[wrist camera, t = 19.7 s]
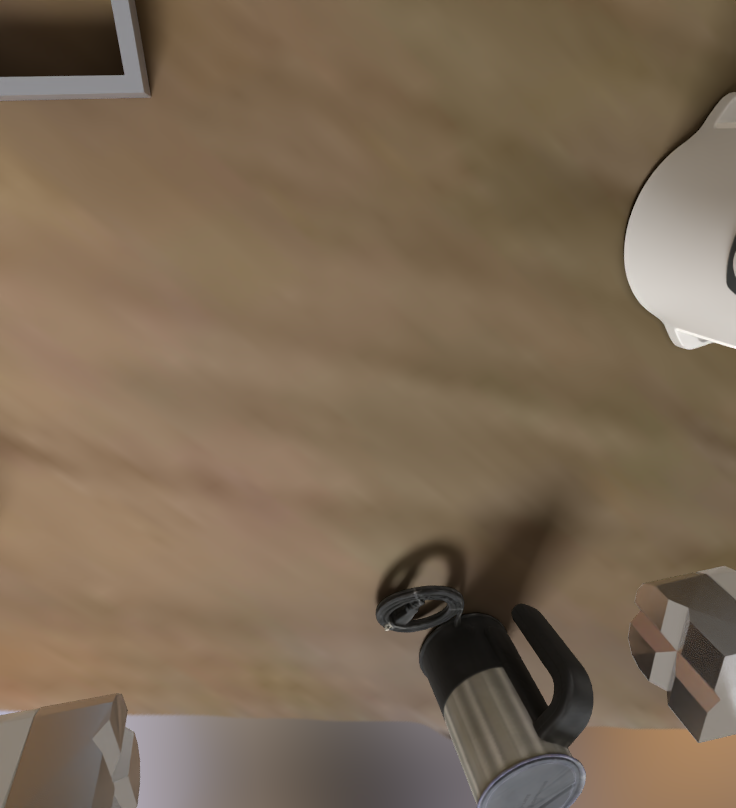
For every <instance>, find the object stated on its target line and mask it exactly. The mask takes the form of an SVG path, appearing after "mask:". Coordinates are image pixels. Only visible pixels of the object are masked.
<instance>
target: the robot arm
mask: <svg viewBox="0 0 736 808" xmlns="http://www.w3.org/2000/svg"><path fill="white" fill-rule="evenodd" d="M624 262H625V270H626V275H627V279H628V282H629V285H630V287H631V290H632V292H633V294H634V295H635V297H636V298H637V300H638V301H639V302H640V304H641V305H642V306H643V307H644V308H645V309H646V310H648V311H649V312H650V313H652V314H653V315H655V316H656V317H657V318H659V319H660V320H661V321H662V322H663V323H664V325H665V327H666V330H667V332H668V334H669V337H670V338H671V340H672V342H673V343H674V344H675V345H676V346H678V347H681V348H684V349H694V348H698V347H701V346H704V345H707V344H710V343H713V342H715V343H718V344H722V345H725V346H728V347H731V348H735V349H736V92H731V93H729V94H727V95H726V96H724V97H723V98H722V99H721V100H720V101H719V102H718V104H717V105H716V106H715V108H714V109H713V110H712V112H711V113H710V115H709V116H708V118H707V119H706V121H705V122H704V124H703V125H702V127H701V128H700V129H699V130H698V131H697V132H696V133H695V134H694V135H693V136H692V137H691V138H690V139H688V140H687V141H686V142H684V143H683V144H682V145H681V146H679V147H678V148H677V149H675V150H674V151H673V152H672V153H671V154H670V155H669V156H668V157H667V158H666V159H665V160H664V161H663V162H662V163H661V164H660V165H659V166H658V167H657V169H656V170H655V171H654V172H653V174H652V175H651V176H650V178H649V179H648V181H647V182H646V184H645V186H644V187H643V189H642V191H641V193H640V194H639V197H638V199H637V201H636V203H635V205H634V208H633V210H632V213H631V216H630V219H629V223H628V227H627V231H626V237H625V246H624ZM635 603H636V605H637V606H638V607H639V609H640V610H641V611H640V612H639V613H638V614H637V615H636V616H635V618H634V619H633V620H632V621H631V622H630V628H629V635H628V640H629V644H630V648H631V653H632V656H633V658H634V660H635V662H636V664H637V665H638V667H639V669H640V670H641V671H642V673H643V674H644V675H645V677H646V678H647V679H648V681H649V682H651V683H653V684H655V685H657V686H659V687H660V688H662V689H664V690H666V691H667V699H668V706H669V707H670V708H671V710H672V711H673V712H674V713H675V715H676V716H677V717H678V718H679V720H680V721H681V722H682V723H683V725H684V726H685V727H686V728H687V730H688V731H689V732H690V733H691V734H692V736H693V737H694V738H695V739H696V741H697V742H698V743H701V742H705V741H709V740H713V739H718V738H722V737H726V736H730V735H735V734H736V571H735V570H733V569H731V568H728V567H726V566H723V567H718V568H713V569H708V570H704V571H699V572H696V573H688V574H684V575H679V576H675V577H670V578H666V579H661V580H657V581H652V582H648V583H643V584H642V585H641V587H640V588H639V589H638V590H637V594H636V598H635ZM127 711H128V710H127V707H126V704H125V701H124V699H123V696H122V694H111V695H106V696H100V697H95V698H89V699H84V700H78V701H73V702H67V703H62V704H56V705H51V706H45V707H41V708H37V709H32V710H26V711H21V712H16V713H10V714H6V715H0V808H136V807H137V804H138V796H139V787H140V758H139V750H138V744H137V740H136V737H135V733H134V732H133V731H131V730H130V729H128V728H126V727H125V723H126V717H127Z"/></svg>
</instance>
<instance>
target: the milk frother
mask: <svg viewBox="0 0 736 808" xmlns="http://www.w3.org/2000/svg"><path fill="white" fill-rule="evenodd" d="M425 600H443V601H445V602H446V603H448V604H447V606H446V607H445V608H444V609H443V610H442V611H440V612H438V613H436V614H434V615H432V616H429V617H426V618H422V619H418V620H411V619H412V618H413V616H414V615H415V614H416V613H417V612H418V608H419V607H420V606H422V605H424V604H425V602H424V601H425ZM463 609H464V599H463V596H462V594H461V593H460V592H458V591H457V590H455V589H453V588H450V587H446V586H421V587H415V588H410V589H406V590H402V591H399V592H397V593H394V594H392V595H390V596H388V597H386V598H385V599H383V600H382V601H381V602H380V603H379V605H378V606H377V609H376V618H377V621H378V622H379V623H380V625H382V626H383V627H384V628H385V631H388V630H393V631H397V632H416V631H420V630H425V629H428V628H432V627H434V626H437V625H439V624H442V623H443V624H442V625H441V626H439V627H437V628H436V629H435V631H433V632H432V633H431V634H430V635H429V637H428V638H427V639H426V641H425V642H424V644H423V646H422V648H421V652H420V655H419V663H420V668H421V670H422V671H423V673H424V675H425V676H426V677H427V678H428V680H429V683H430V685H431V687H432V690H433V692H434V695H435V697H436V699H437V702H438V704H439V707H440V709H441V712H442V714H443V717H444V720H445V722H446V725H447V728H448V730H449V733H450V736H451V738H452V741H453V743H454V746H455V749H456V751H457V754H458V757H459V759H460V762H461V764H462V767H463V770H464V772H465V775H466V778H467V780H468V783H469V785H470V788H471V790H472V793H473V796H474V798H475V801H476V804H477V808H569V807H570V806H571V805H572V804H573V803H574V802H575V800H576V799H577V798H578V796H579V795H580V793H582V789H583V787H584V785H585V779H586V772H585V769H584V767H583V765H582V764H581V763H580V762H579V761H578V760H577V759H575V758H573V757H572V755H571V753H570V751H569V750H568V747H569V746H570V745H571V744H572V742H573V741H574V740H575V739H576V738H577V737H578V736H579V734H580V733H581V732H582V731H583V730H584V728H585V727H586V726H587V724H588V722H589V719H590V717H591V714H592V709H593V690H592V685H591V682H590V679H589V676H588V674H587V672H586V671H585V669H584V667H583V666H582V665H581V663H580V662H579V661H578V660H577V658H576V657H575V656H574V654H573V653H572V652H571V651H570V649H569V648H568V647H567V646H566V644H565V643H564V642H563V640H562V639H561V638H560V637H559V635H558V634H557V633H556V631H555V630H554V629H553V628H552V626H551V625H550V624H549V623H548V622H547V620H546V619H545V618H544V616H543V615H542V614H541V613H540V612H539V611H538V610H537V609H535V608H533V607H531V606H528V605H525V604H518V605H516V606H515V607H514V608H513V610H512V612H511V613H512V617H513V620H514V621H515V623H516V624H517V626H518V627H519V629H520V630H521V632H522V633H523V635H524V636H525V638H526V639H527V641H528V642H529V644H530V645H531V646H532V648H533V650H534V651H535V652H536V654H537V656H538V657H539V659H540V660H541V661H542V663H543V664H544V666H545V667H546V668H547V670H548V671H549V673H550V675H551V677H552V679H553V682H554V695H553V699H552V702H551V704H550V705H549V706H548V705H547V704H546V702H545V700H544V698H543V696H542V695H541V693H540V691H539V689H538V688H537V686H536V684H535V682H534V681H533V679H532V677H531V675H530V673H529V671H528V670H527V668H526V666H525V664H524V663H523V661H522V659H521V657H520V655H519V654H518V651H517V649H516V648H515V646H514V644H513V642H512V641H511V639H510V637H509V636H508V634H507V632H506V630H505V628H504V626H503V625H502V624H501V623H500V622H499V621H498V620H497V619H495V618H494V617H492V616H489V615H485V614H478V613H474V614H466V615H461V614H462V612H463ZM456 614H457V615H456ZM455 615H456V617H455V618H453V619H451V618H452V617H454V616H455ZM449 619H451V620H449ZM410 620H411V621H410ZM446 621H447V622H446ZM444 622H445V623H444Z"/></svg>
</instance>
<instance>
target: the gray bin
mask: <svg viewBox="0 0 736 808" xmlns="http://www.w3.org/2000/svg"><path fill="white" fill-rule="evenodd" d="M111 4H112V9H113V14H114V20H115V25H116V31H117V36H118V42H119V47H120V53H121V58H122V64H123V69H124V74H125V75H101V76H36V77H0V101H14V100H59V99H103V98H147V97H151V93H150V87H149V82H148V76H147V70H146V64H145V58H144V52H143V46H142V40H141V34H140V28H139V22H138V17H137V11H136V5H135V0H111Z"/></svg>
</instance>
